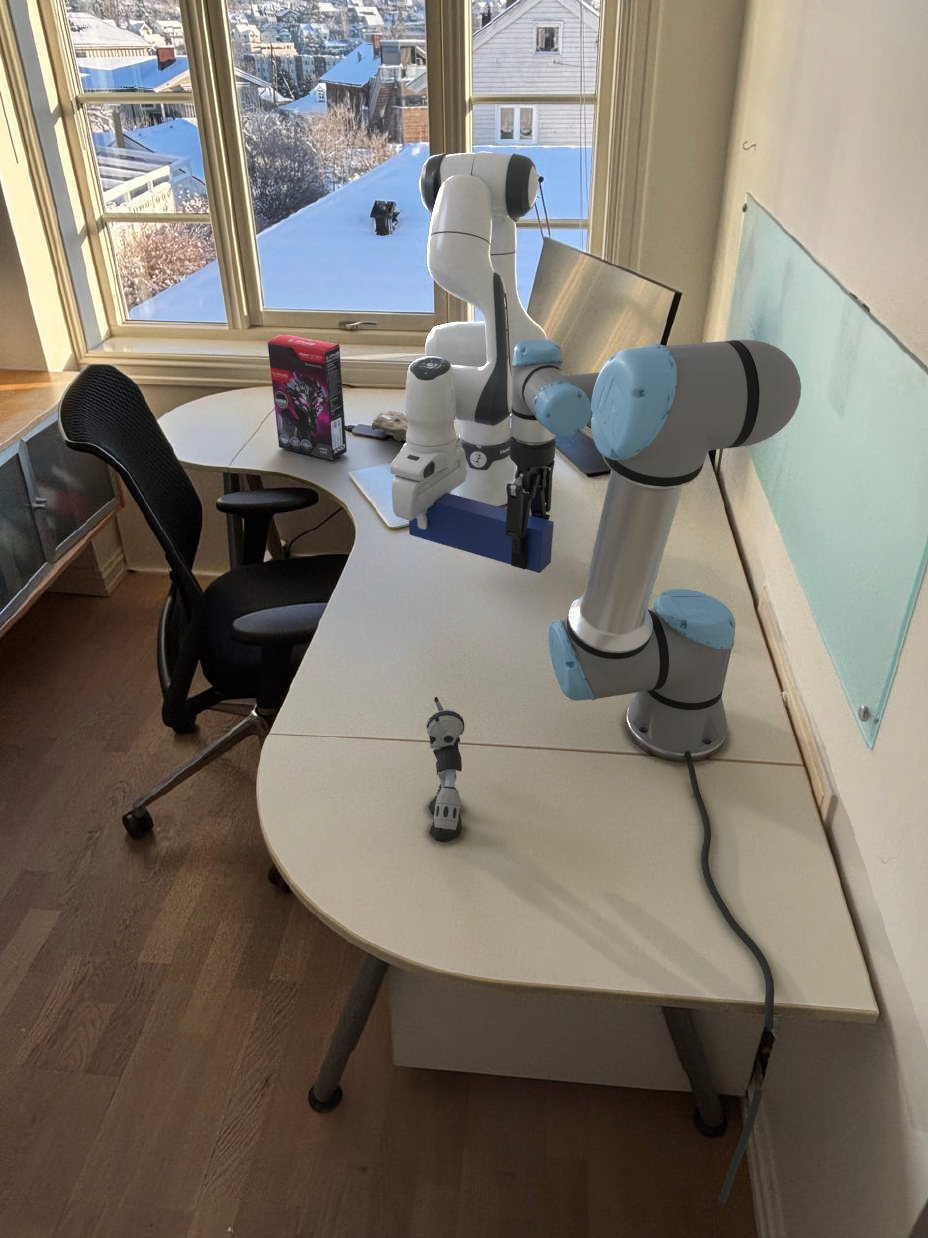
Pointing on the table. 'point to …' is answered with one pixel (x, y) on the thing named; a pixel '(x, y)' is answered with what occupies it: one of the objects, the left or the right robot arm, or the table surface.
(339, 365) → the graphics card box
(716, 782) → the table surface
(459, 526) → the bar
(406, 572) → the table surface
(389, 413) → the stone
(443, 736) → the robot
